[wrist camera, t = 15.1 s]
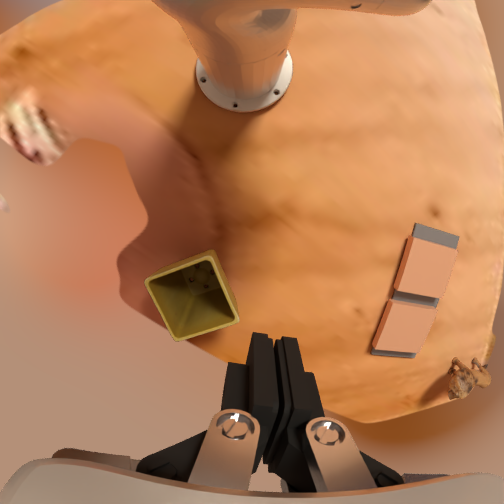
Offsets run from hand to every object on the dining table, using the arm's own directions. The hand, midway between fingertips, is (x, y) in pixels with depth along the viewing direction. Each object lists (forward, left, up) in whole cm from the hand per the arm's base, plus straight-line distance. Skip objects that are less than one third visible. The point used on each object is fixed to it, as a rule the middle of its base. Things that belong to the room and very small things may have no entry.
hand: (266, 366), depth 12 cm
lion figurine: (+19, +46, -32) cm, 59 cm away
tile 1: (+11, +22, -30) cm, 39 cm away
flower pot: (+9, -6, -32) cm, 33 cm away
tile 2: (+1, +22, -30) cm, 37 cm away
